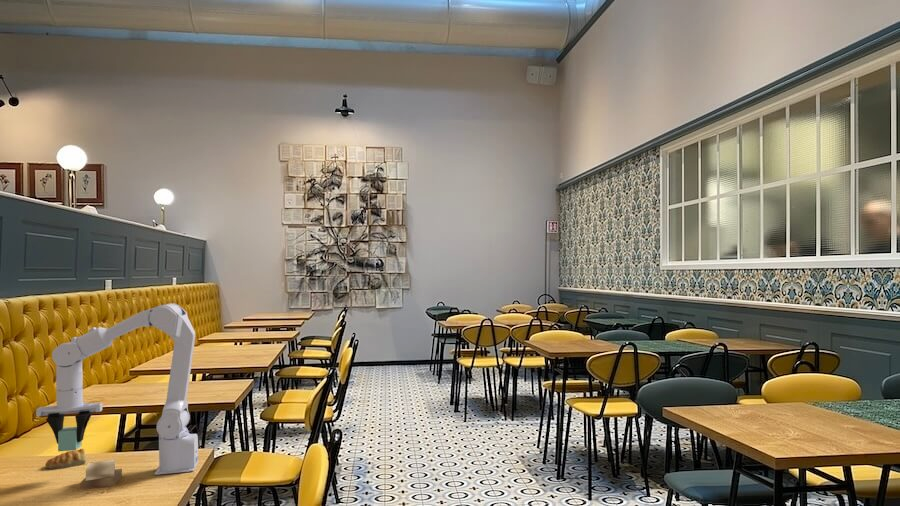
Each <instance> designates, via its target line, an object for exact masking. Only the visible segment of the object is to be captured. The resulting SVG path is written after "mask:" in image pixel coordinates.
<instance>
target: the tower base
mask: <svg viewBox="0 0 900 506" xmlns="http://www.w3.org/2000/svg"><path fill="white" fill-rule="evenodd" d="M122 477H123V469H122V468H115V473H114V477H108V478H101V479H94V480H87V481H86V477H85V478H83V479H82V480H81V490H88V489H97V488H109V487H114V486H115V485H116V484H117V483H118V482H119V481H120V480H121V478H122Z"/></svg>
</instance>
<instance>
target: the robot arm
mask: <svg viewBox="0 0 900 506" xmlns="http://www.w3.org/2000/svg"><path fill="white" fill-rule="evenodd" d="M141 327H145V328H146V327H147V328H151V327H154V328H156V329H157V330H160V331H161V332H164V333H166V334H167V335H168V336H169V337H170V338H171V339H172V340H173V341H174V343H173V352H172V358H171V359H172V360H171V365H170V370H169V371H170V373H169V380H168V384H167V385H168V387H167V394H166V400H165V402H164V403H165V404H164V406H163V408H162V413H161V416H160V418H159V419H158V420H157V423H156V431H157V433H158V461H159V462H158V468H157V470H156V471H155V472H154V475H155V476H158V475H168V474H169V475H170V474H177V473H189V472H194V471H195V469H196V467H197V466H198V464H199V461H200V460H199V435H198V433H190V431H189V429H188V428H187V426H188V425H189V423H190V420H191V418H190V417H191V415H190V412H189V409H188V407H189V402H188V393H189V392H188V391H189V385H190V380H191V379H190V378H191V371H192V363H193V356H194V350H195V341H196V332H195V328H194V327H193V325H192V323H191V321H190V318H189V316H188V312H187V311H186V310H185V309H184V308H183V307H181V306H180V305H179V304H177V303H173V302H170V303H169V302H168V303H166V304H160V305H157V306H155V307H153V308H150V309H146V310H142V311H139V312H138V313H135V314H134V315H132V316H130V317H128V318H125V319H124V320H123V321H122V320H121V321H120V322H118V323H116V324H114V325H112V326H110V327H108V328H106V327H102V326H99V327H95V326H94V327H91V328H88V331H89V332H87V333H84V334H82V335H80V336H78V337H77V336H74V337H72V338H70V340H71V341H70V342H64V343H60V344H59V345H58V346H56V347H55V348H54V349H53V351H52V354H51V355H52V357H51V358H52V361H53V363H54V364H55V365H56V369H55V371H56V373H55V375H56V377H55V378H56V379H55V382H56V385H55V387H56V405H49V406H40V407H37V408H36V411H35V414H36V415H35V417H38V418H39V417H44V416H47V417H46V419H45V420H46V422H47V424H48V425H49V427H50V428H51V430H52V432H53V434H54V438H55V441H56V444H57V445H58V432H59V431H60V430H62V429H63V428H64V420H65V415H66V414H67V415H69V414H76V415H75V423H76V427H77V442H81V441H83V440H84V436H85V432H86V428H87V426H88V423H89V422H90V419H91V416H92V415H93V413H94V412H95V413H100V412H102V411H103V402H98V403H97V402H93V403H92V402H90V403H89V402H84V390H83V389H84V386H83V385H84V384H83V383H84V381H83V379H84V377H83V374H84V371H83V361H84V359H87V358H89V357H90V356H93V355H95V354H98V353H99V352H101V351H103V350H105V349H107V348H110V347H111V346H112V345H113V342H114V340H115V339H116V338H119V337H121V336H124V335H125V334H127V333H128V334H129V332H131V331H134V330H136V329H139V328H141Z"/></svg>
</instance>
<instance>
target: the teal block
mask: <svg viewBox="0 0 900 506" xmlns="http://www.w3.org/2000/svg"><path fill="white" fill-rule="evenodd" d="M82 441H83V440H82ZM82 441H81V442H77V426H68V427H67V426H65V427H63V429H62V430H60V431H59V432H58V444H57V451H58V452H68V451H74V450H79V448H80V447H82V445H83V442H82Z"/></svg>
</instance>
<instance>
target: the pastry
mask: <svg viewBox="0 0 900 506" xmlns="http://www.w3.org/2000/svg"><path fill="white" fill-rule="evenodd" d="M85 452H86V451H85V449H84V448H80V449H77V450H71V451H65V452H63V453H61V454H59V455H58V454H57V455H55V456H54V457H52V458H49V459H48V460H47V461H46V462H45V468H46V469H48V470H49V469H50V470H54V469H66V468H70V467H76V466H81V465H85V464H86V462H87V456H86V453H85Z"/></svg>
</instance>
